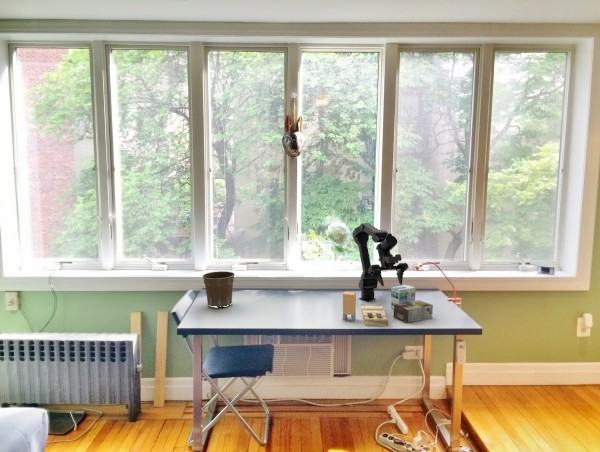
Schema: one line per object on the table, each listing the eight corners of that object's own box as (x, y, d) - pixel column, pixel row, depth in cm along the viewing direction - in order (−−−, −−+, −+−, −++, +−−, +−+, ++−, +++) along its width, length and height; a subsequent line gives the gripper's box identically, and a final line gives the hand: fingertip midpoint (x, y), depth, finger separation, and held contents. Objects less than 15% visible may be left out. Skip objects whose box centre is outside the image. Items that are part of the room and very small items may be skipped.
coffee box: (418, 312, 207) (392, 317, 199) (419, 299, 206) (393, 304, 199) (432, 317, 199) (406, 323, 192) (433, 304, 198) (407, 309, 191)
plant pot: (196, 307, 215) (195, 276, 214) (214, 299, 230) (213, 270, 228) (224, 311, 209) (223, 279, 207) (241, 302, 224) (240, 272, 222)
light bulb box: (399, 311, 209) (399, 290, 207) (390, 307, 214) (390, 286, 213) (415, 308, 213) (416, 287, 212) (406, 304, 219) (407, 284, 218)
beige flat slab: (360, 309, 211) (360, 304, 211) (381, 310, 211) (381, 305, 210) (365, 325, 189) (365, 320, 189) (387, 325, 189) (387, 320, 188)
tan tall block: (345, 317, 200) (345, 291, 199) (355, 318, 198) (355, 292, 197) (342, 320, 196) (342, 293, 195) (353, 321, 194) (353, 294, 193)
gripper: (372, 249, 196) (380, 281, 190) (409, 247, 201) (417, 278, 194) (364, 258, 206) (371, 289, 199) (399, 256, 211) (407, 286, 204)
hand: (392, 285), depth 199 cm, fingers open, 9 cm apart
